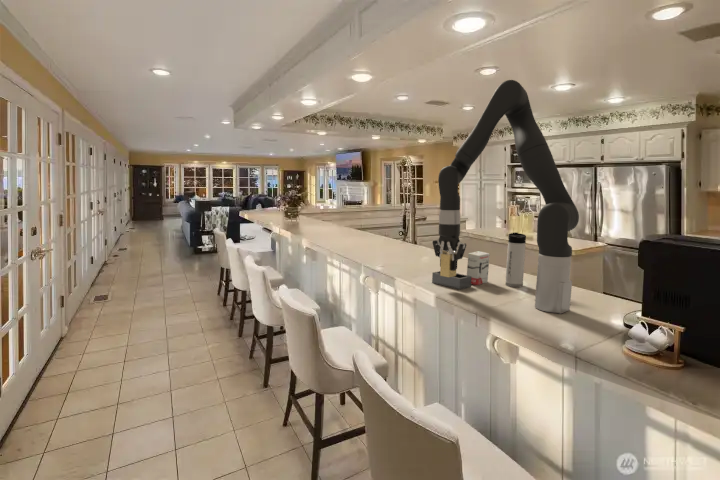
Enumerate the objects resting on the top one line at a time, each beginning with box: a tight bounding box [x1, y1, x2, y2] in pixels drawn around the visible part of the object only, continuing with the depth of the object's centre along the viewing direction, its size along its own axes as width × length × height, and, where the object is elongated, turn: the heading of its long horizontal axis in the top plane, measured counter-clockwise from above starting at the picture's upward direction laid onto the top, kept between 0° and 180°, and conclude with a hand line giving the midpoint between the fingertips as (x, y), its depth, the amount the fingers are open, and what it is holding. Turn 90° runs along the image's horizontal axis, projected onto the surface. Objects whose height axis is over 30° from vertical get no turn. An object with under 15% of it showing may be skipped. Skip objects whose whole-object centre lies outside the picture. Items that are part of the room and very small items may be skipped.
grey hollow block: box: [431, 271, 472, 291], centre depth 157 cm, size 13×7×4 cm, turn 40°
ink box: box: [466, 250, 491, 286], centre depth 161 cm, size 8×5×12 cm, turn 134°
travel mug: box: [505, 232, 527, 288], centre depth 157 cm, size 6×7×20 cm
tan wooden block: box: [440, 252, 457, 277], centre depth 149 cm, size 4×4×8 cm
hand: (448, 269), depth 150 cm, fingers closed on tan wooden block, 4 cm apart
